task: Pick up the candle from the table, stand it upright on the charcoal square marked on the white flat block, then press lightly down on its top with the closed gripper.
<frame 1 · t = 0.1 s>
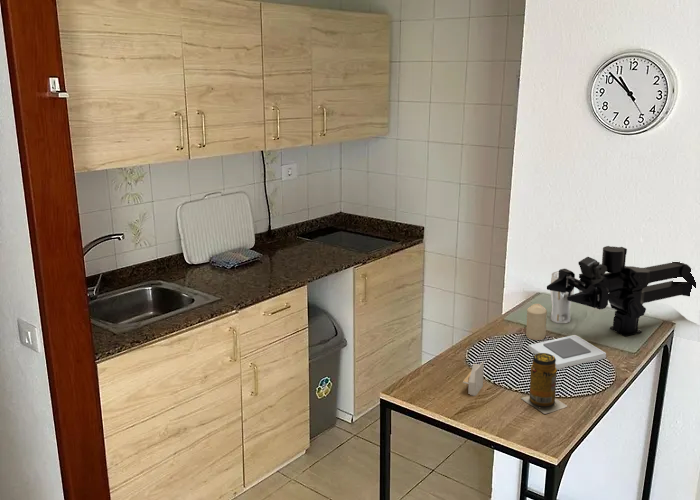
hand: (557, 293, 182), 17 cm above the table, tool horizontal, fingers open, 9 cm apart
candle: (535, 337, 194), on the table
condiment: (544, 403, 159), on the table
architectural model: (475, 392, 166), on the table
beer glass: (560, 320, 205), on the table
white flat block: (566, 353, 183), on the table
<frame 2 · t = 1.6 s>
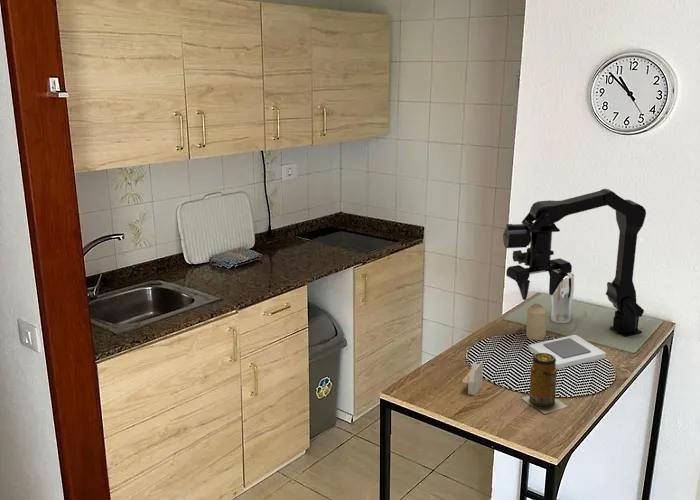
hand: (537, 297, 190), 13 cm above the table, tool pointing down, fingers open, 9 cm apart
nothing on the table moved.
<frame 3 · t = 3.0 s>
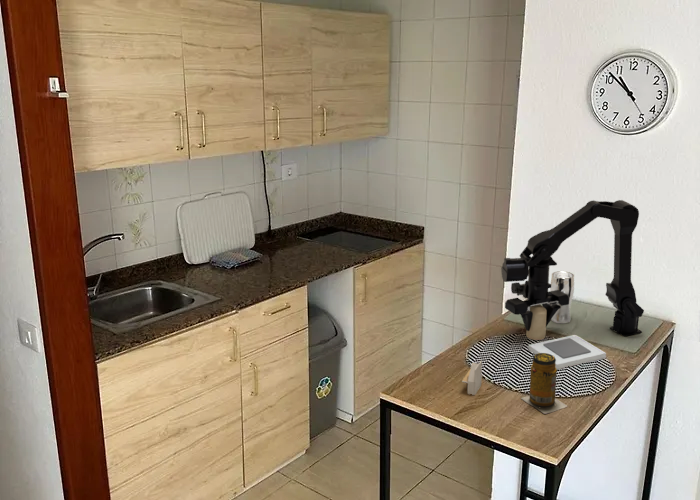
hand: (536, 328, 193), 3 cm above the table, tool pointing down, fingers closed on candle, 5 cm apart
candle: (535, 336, 194), on the table, touching gripper
everything else where it was.
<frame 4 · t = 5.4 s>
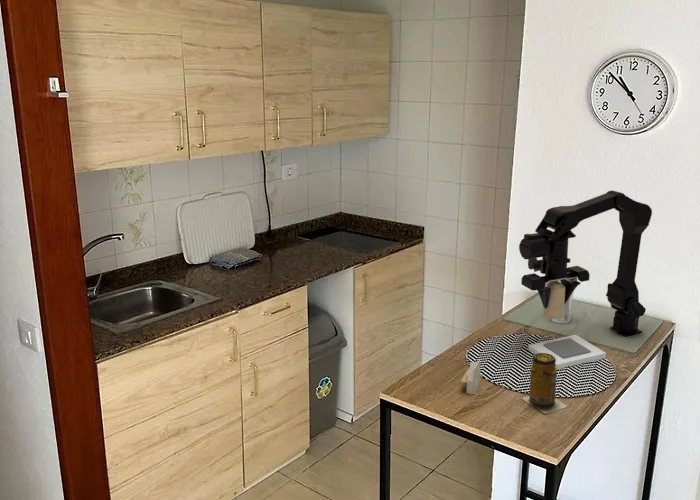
hand: (554, 306, 184), 12 cm above the table, tool pointing down, fingers closed on candle, 5 cm apart
candle: (553, 315, 185), point 9 cm above the table, touching gripper
when the fingers open (5 cm above the table, at t = 7.6 s): candle stays where it is, resting on white flat block.
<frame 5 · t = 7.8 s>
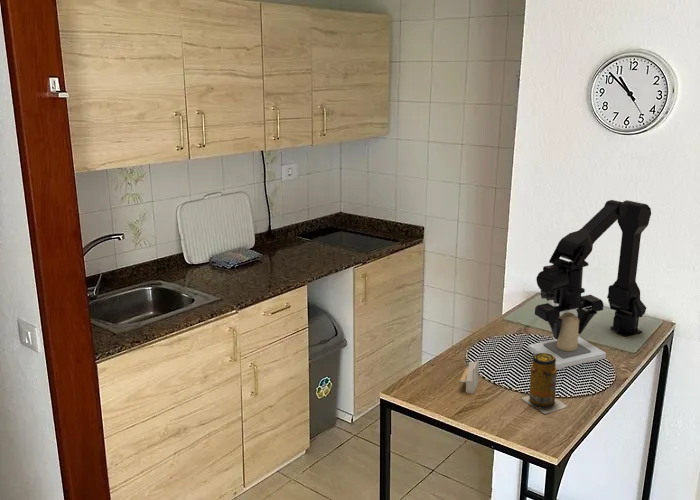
hand: (567, 335, 181), 5 cm above the table, tool pointing down, fingers open, 7 cm apart
candle: (566, 347, 182), point 2 cm above the table, touching white flat block
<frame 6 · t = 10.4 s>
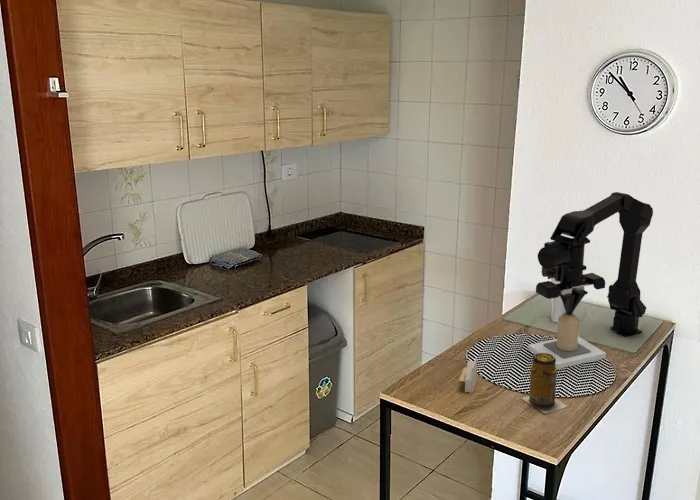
hand: (568, 314, 179), 12 cm above the table, tool pointing down, fingers closed, pressing on candle
candle: (566, 347, 182), point 2 cm above the table, touching white flat block, gripper
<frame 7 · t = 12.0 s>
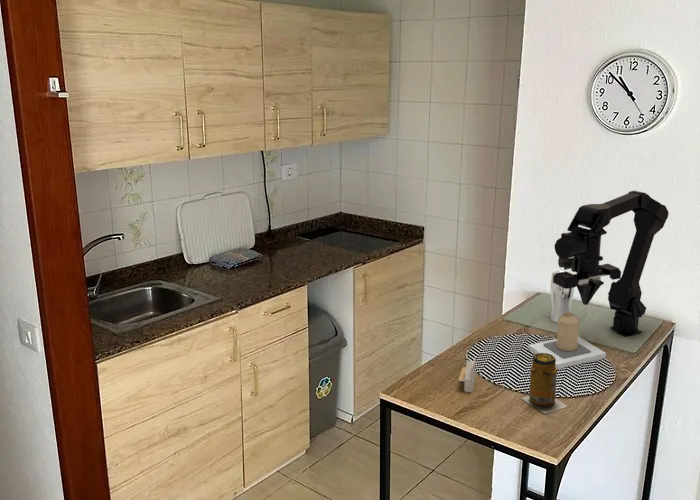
hand: (585, 304, 183), 13 cm above the table, tool pointing down, fingers closed
candle: (566, 347, 182), point 2 cm above the table, touching white flat block
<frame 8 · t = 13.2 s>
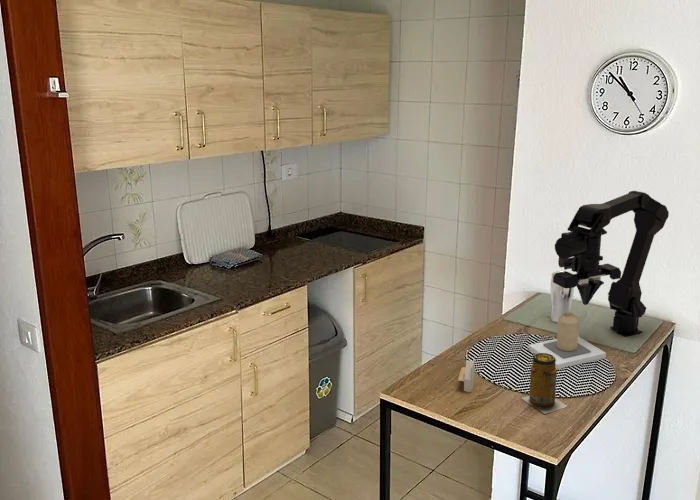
hand: (585, 304, 183), 13 cm above the table, tool pointing down, fingers closed
at the end: candle 0.1 cm off-centre on the white flat block, point 1.8 cm above the white flat block's base; candle tilted 0°; the gripper is holding nothing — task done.
